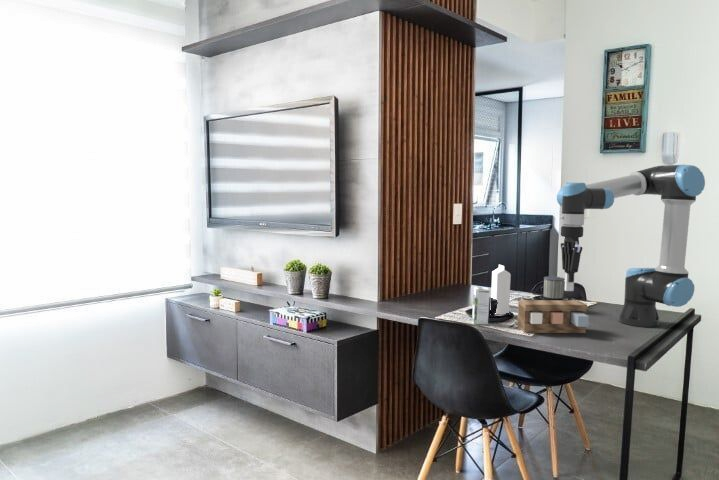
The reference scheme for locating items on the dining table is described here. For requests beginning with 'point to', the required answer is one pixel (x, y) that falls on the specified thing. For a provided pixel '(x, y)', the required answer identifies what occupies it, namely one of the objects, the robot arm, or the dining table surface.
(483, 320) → the syrup box
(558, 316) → the salmon pink block
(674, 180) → the robot arm
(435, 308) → the dining table surface
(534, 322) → the cream button
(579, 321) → the slate button
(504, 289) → the milk
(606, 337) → the dining table surface
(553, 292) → the milk frother
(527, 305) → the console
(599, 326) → the dining table surface
